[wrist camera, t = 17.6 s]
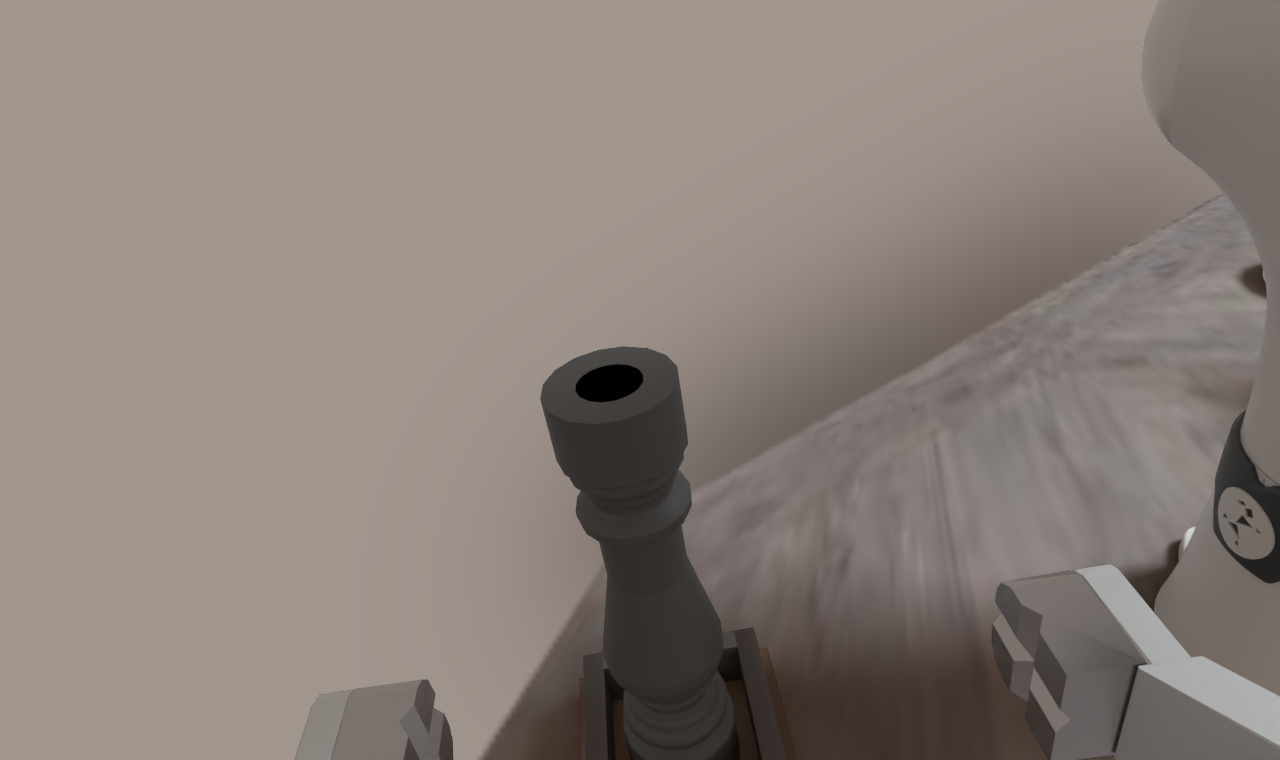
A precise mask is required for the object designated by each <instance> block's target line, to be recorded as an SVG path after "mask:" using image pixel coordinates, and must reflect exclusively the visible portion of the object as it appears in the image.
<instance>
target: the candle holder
mask: <svg viewBox="0 0 1280 760" xmlns="http://www.w3.org/2000/svg"><path fill="white" fill-rule="evenodd" d="M541 403H542V407H543V411H544V415H545V418H546V422H547V426H548V430H549V433H550V437H551V441H552V445H553V448H554V452H555V456H556V460H557V462H558V464H559V465H560V467H561V469H562V471H563V472H564V474H565V475H566V476H568V477H569V478H570V480H571V481H572V483H573V485H574V486H575V487H576V488H577V489H579V490H581V492H580V494H579V495H578V497H577V505H576V514H577V518H578V519H579V521H580V523H581V525H582V527H583V528H584V530H585V532H586V533H587V534H588V535H589V536H591V537H592V538H594V539H596V540H597V541H599V543H600V547H601V551H602V555H603V559H604V563H605V567H606V572H607V592H606V608H605V622H604V640H603V655H604V658H605V661H606V663H607V666H608V668H609V670H610V672H611V674H612V676H613V678H614V679H615V681H616V682H617V683H618V684H619V685H620V686H621V687H623V688H624V689H625V691H624V697H623V714H624V722H623V731H624V735H625V739H626V742H627V746H628V750H629V754H630V757H631V760H739V758H740V748H739V740H738V732H737V726H736V719H735V712H734V705H733V700H732V698H731V697H730V695H729V693H728V692H727V689H726V683H725V682H724V680H723V679H722V677H721V675H720V674H719V672H718V671H717V667H718V664H719V662H720V659H721V656H722V653H723V649H724V646H723V638H722V629H721V622H720V619H719V617H718V615H717V613H716V612H715V610H714V608H713V606H712V604H711V602H710V600H709V598H708V596H707V594H706V592H705V590H704V588H703V587H702V585H701V583H700V581H699V579H698V577H697V575H696V573H695V571H694V569H693V567H692V565H691V563H690V561H689V559H688V557H687V555H686V549H685V543H684V537H683V531H682V525H681V524H683V523H684V521H685V519H686V516H687V514H688V512H689V510H690V508H691V506H692V500H691V489H690V483H689V482H688V480H687V479H686V478H685V477H684V475H683V474H682V473H681V471H679V470H678V469H679V467H680V465H681V463H682V461H683V459H684V454H683V452H684V450H685V448H686V446H687V445H688V439H687V428H686V421H685V415H684V408H683V402H682V395H681V389H680V382H679V376H678V369H677V366H676V365H675V364H674V363H673V362H672V361H671V360H670V359H669V358H668V357H667V356H666V355H664V354H662V353H659V352H656V351H653V350H650V349H648V348H637V347H617V348H610V349H603V350H598V351H594V352H591V353H589V354H586V355H583V356H580V357H577V358H574V359H573V360H571V361H569V362H568V363H566V364H564V365H563V366H561V367H560V368H558V369H556V370H555V371H554V372H553V374H552V375H551V376H550V377H549V378H548V379H547V380H546V382H545V383H544V384H543V388H542V393H541Z"/></svg>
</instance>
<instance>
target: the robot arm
mask: <svg viewBox="0 0 1280 760" xmlns="http://www.w3.org/2000/svg"><path fill="white" fill-rule="evenodd" d="M1142 84H1143V90H1144V96H1145V99H1146V102H1147V105H1148V109H1149V111H1150V113H1151V115H1152V118H1153V120H1154V122H1155V124H1156V126H1157V127H1158V129H1159V130H1160V132H1161V133H1162V134H1163V136H1164V137H1165V138H1166V139H1167V141H1168V142H1169V143H1170V144H1171V145H1172V146H1173V147H1174V148H1175V149H1176V150H1178V151H1179V152H1180V153H1182V154H1183V155H1184V156H1186V157H1187V158H1188V159H1189V160H1191V161H1192V162H1193V163H1195V164H1196V165H1197V166H1198V167H1200V168H1201V169H1202V170H1203V171H1204V172H1205V173H1206V174H1207V175H1208V176H1209V177H1210V178H1211V179H1212V180H1213V181H1214V182H1215V183H1216V184H1217V185H1218V186H1219V187H1220V189H1221V190H1222V191H1223V192H1224V194H1225V195H1226V196H1227V197H1228V198H1229V200H1230V201H1231V202H1232V204H1233V205H1234V207H1235V208H1236V210H1237V211H1238V213H1239V214H1240V216H1241V217H1242V219H1243V221H1244V222H1245V224H1246V226H1247V228H1248V230H1249V232H1250V234H1251V236H1252V238H1253V240H1254V243H1255V246H1256V248H1257V251H1258V254H1259V256H1260V259H1261V263H1262V267H1263V271H1264V275H1265V282H1266V291H1267V309H1266V320H1265V327H1264V333H1263V340H1262V346H1261V351H1260V356H1259V361H1258V366H1257V371H1256V375H1255V379H1254V383H1253V387H1252V391H1251V395H1250V399H1249V402H1248V406H1247V409H1246V410H1245V411H1244V412H1242V413H1241V414H1240V415H1239V416H1238V417H1237V419H1236V420H1235V421H1234V423H1233V425H1232V427H1231V430H1230V433H1229V434H1228V436H1227V439H1226V441H1225V443H1224V446H1223V447H1224V450H1223V453H1222V456H1221V460H1220V463H1219V466H1218V470H1217V473H1216V477H1215V487H1214V489H1213V491H1212V493H1211V495H1210V497H1209V499H1208V501H1207V504H1206V506H1205V508H1204V510H1203V512H1202V514H1201V516H1200V518H1199V521H1198V523H1197V525H1196V527H1192V528H1189V529H1188V530H1187V531H1186V532H1185V534H1184V536H1183V538H1182V540H1181V542H1180V545H1179V562H1178V564H1177V565H1176V567H1175V569H1174V570H1173V572H1172V573H1171V574H1170V576H1169V577H1168V579H1167V580H1166V581H1165V583H1164V584H1163V585H1162V587H1161V588H1160V590H1159V592H1158V594H1157V597H1156V600H1155V605H1154V612H1153V611H1152V609H1151V608H1150V607H1149V606H1148V605H1147V603H1146V602H1145V601H1144V600H1143V598H1142V597H1141V596H1140V595H1139V594H1138V592H1137V591H1136V590H1135V589H1134V588H1133V586H1132V585H1131V584H1130V583H1129V581H1128V580H1127V579H1126V578H1125V577H1124V575H1123V574H1122V573H1121V572H1120V571H1119V569H1117V568H1116V567H1114V566H1112V565H1111V564H1108V565H1102V566H1096V567H1090V568H1084V569H1078V570H1073V571H1069V570H1068V571H1062V572H1057V573H1051V574H1046V575H1040V576H1034V577H1029V578H1023V579H1018V580H1012V581H1007V582H1001V584H1000V585H999V586H998V588H997V592H996V599H995V602H996V604H997V606H998V607H999V609H1000V611H1001V612H1002V614H1001V615H1000V616H999V617H998V618H997V619H996V621H995V622H994V623H993V626H992V645H993V650H994V655H995V660H996V662H997V665H998V668H999V670H1000V673H1001V675H1002V677H1003V679H1004V681H1005V683H1006V685H1007V686H1008V688H1009V690H1010V691H1011V692H1013V693H1014V694H1016V695H1017V696H1019V697H1020V698H1022V699H1023V700H1025V701H1026V702H1028V705H1027V712H1026V721H1027V723H1028V725H1029V727H1030V728H1031V730H1032V732H1033V734H1034V735H1035V737H1036V739H1037V741H1038V743H1039V744H1040V746H1041V748H1042V750H1043V752H1044V753H1045V755H1046V757H1047V759H1048V760H1078V759H1086V758H1093V757H1101V756H1108V755H1115V756H1114V758H1115V759H1116V760H1280V0H1159V2H1158V4H1157V6H1156V8H1155V11H1154V13H1153V16H1152V18H1151V21H1150V23H1149V26H1148V30H1147V33H1146V37H1145V41H1144V46H1143V54H1142ZM434 700H435V692H434V690H433V689H432V687H431V685H430V683H429V681H428V680H417V681H410V682H403V683H395V684H388V685H380V686H373V687H366V688H359V689H353V690H347V691H340V692H333V693H327V694H320V695H319V697H318V698H317V699H316V701H315V702H314V704H313V705H312V707H311V710H310V713H309V716H308V719H307V723H306V725H305V728H304V732H303V735H302V738H301V741H300V744H299V747H298V750H297V754H296V757H295V760H453V741H452V736H451V731H450V727H449V724H448V721H447V719H446V717H445V714H444V713H441V712H440V711H438V710H436V709H434V708H433V706H434Z"/></svg>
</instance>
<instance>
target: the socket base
mask: <svg viewBox="0 0 1280 760" xmlns="http://www.w3.org/2000/svg"><path fill="white" fill-rule="evenodd" d="M722 638H723V646H724V649H723V653H722V656H721V659H720V662H719V664H718V667H717V671H718V672H719V674H720V675H721V677H722V679H723V680H724V682H725V683H726V689H727V692H728V693H729V695H730V697H731V698H732V700H733V705H734V712H735V719H736V726H737V732H738V740H739V748H740V758H739V760H796V756H795V752H794V748H793V744H792V741H791V737H790V733H789V729H788V725H787V721H786V718H785V714H784V710H783V706H782V702H781V698H780V695H779V691H778V687H777V683H776V679H775V675H774V671H773V668H772V664H771V660H770V656H769V652H768V648H762V649H759V648H758V644H757V640H756V636H755V632H754V628H747V629H741V630H735V631H729V632H723V633H722ZM624 691H625V689H624V688H623V687H621V686H620V685H619V684H618V683H617V682H616V681H615V679H614V678H613V676H612V674H611V672H610V670H609V668H608V666H607V663H606V661H605V658H604V655H603V653H597V654H591V655H585V656H584V678H581V679H580V723H581V760H631V757H630V754H629V750H628V746H627V742H626V739H625V735H624V731H623V722H624V714H623V697H624Z"/></svg>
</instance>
